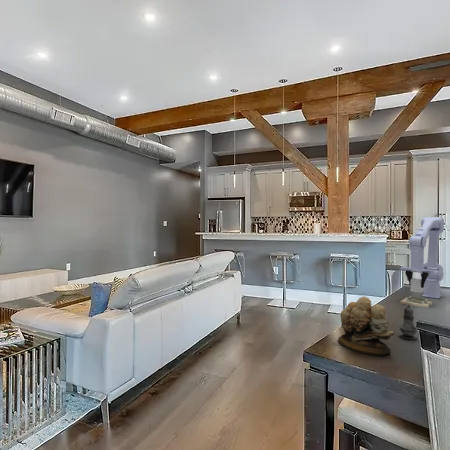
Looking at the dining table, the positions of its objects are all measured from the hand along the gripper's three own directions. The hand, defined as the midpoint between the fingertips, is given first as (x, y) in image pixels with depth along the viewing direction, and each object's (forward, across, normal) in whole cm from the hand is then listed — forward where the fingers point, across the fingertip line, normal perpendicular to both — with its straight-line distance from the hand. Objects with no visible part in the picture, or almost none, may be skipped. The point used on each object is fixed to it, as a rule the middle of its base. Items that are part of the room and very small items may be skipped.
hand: (416, 286), depth 164 cm
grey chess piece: (+9, +10, -56) cm, 58 cm away
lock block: (+2, 0, 0) cm, 2 cm away
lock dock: (+9, 0, 0) cm, 9 cm away
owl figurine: (+9, +2, -76) cm, 77 cm away
